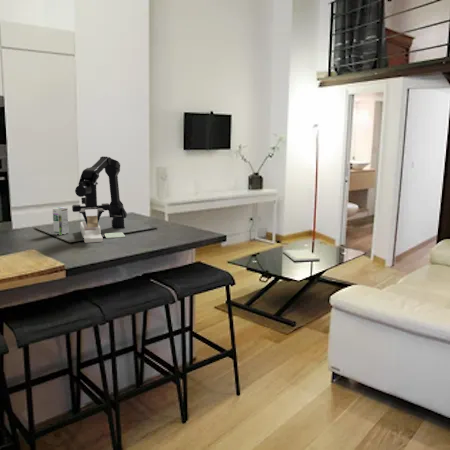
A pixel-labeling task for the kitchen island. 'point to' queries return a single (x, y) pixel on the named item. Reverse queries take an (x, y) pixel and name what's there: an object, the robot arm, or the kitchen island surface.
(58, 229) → the syrup box
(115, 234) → the sage pad
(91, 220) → the maple block
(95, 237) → the trap channel
